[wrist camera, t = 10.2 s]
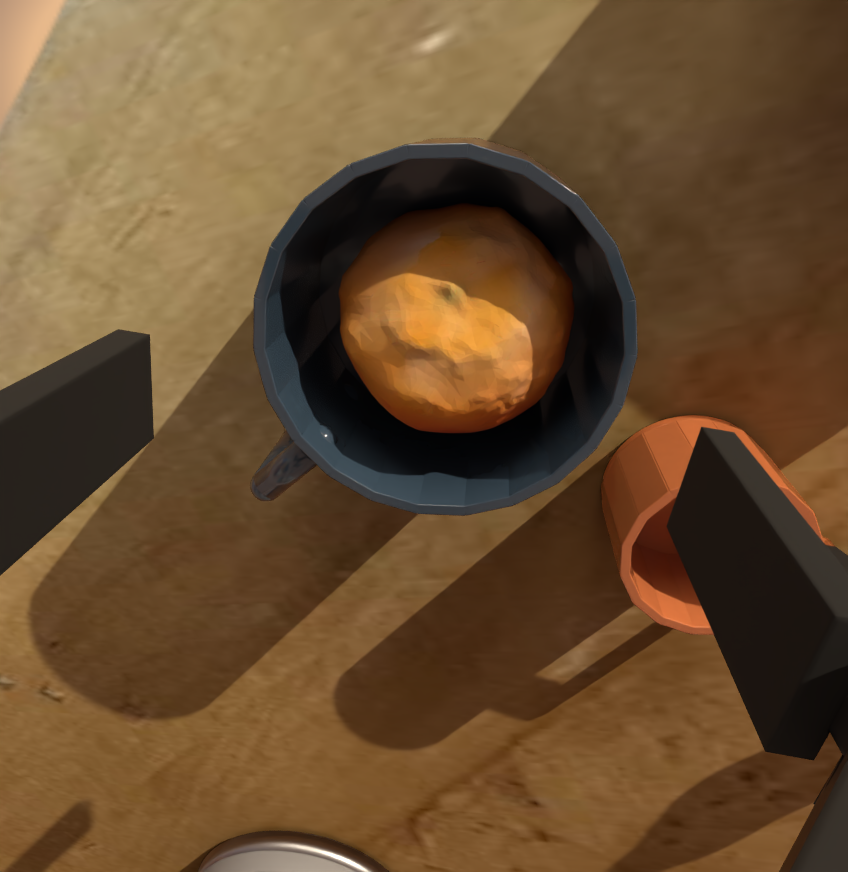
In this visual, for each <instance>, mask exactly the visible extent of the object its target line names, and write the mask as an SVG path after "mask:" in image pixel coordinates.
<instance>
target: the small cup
mask: <svg viewBox="0 0 848 872" xmlns="http://www.w3.org/2000/svg"><path fill="white" fill-rule="evenodd" d="M701 427H707V428H713V429H719V430H725V431H730V432H735V434H736V435H737V436H738V437H739V438H740V440H741V441H742V442H743V443H744V445H745V446H746V447H747V448H748V450H749V451H750V452H751V453H752V455H753V456H754V457H755V458H756V460H757V461H758V462H759V463H760V464H761V466H762V467H763V468H764V469H765V471H766V472H767V473H768V474H769V476H770V477H771V478H772V479H773V481H774V482H775V483H776V484H777V486H778V487H779V488H780V489H781V490H782V492H783V493H784V494H785V495H786V497H787V498H788V499H789V500H790V502H791V503H792V504H793V505H794V507H795V508H796V509H797V510H798V512H799V513H800V514H801V515H802V517H803V518H804V519H805V520H806V521H807V523H808V524H809V525H810V526H811V528H812V529H813V530H814V531H815V533H816V534H817V535H818V536H819V538H820V539H821V540H822V541H823V543H824V544H825V545H829V546H834V545H833V543H832V542H831V541H830V540H829V539H827V538H825V537H822V535H821V532H820V529H819V526H818V522H817V519H816V516H815V513H814V512H813V511H812V509H811V508H810V507H809V506H808V504H807V503H806V502H805V501H804V499H803V498H802V497H801V496H800V494H799V493H798V492H797V491H796V489H795V488H794V487H793V486H792V484H791V483H790V482H789V481H788V480H787V478H786V477H785V476H784V475H783V473H782V472H781V471H780V470H779V468H778V467H777V466H776V465H775V463H774V462H773V461H772V460H771V458H770V457H769V456H768V455H767V453H766V452H765V451H764V450H763V449H762V448H761V447H760V446H759V445H758V444H757V443H756V442H755V441H754V440H753V439H752V438H751V436H749V435H748V434H747V433H746V432H745V431H743V430H742V429H740V428H739V427H737V426H735V425H734V424H731V423H729V422H727V421H724V420H721V419H717V418H714V417H708V416H699V415H687V416H677V417H672V418H667V419H664V420H661V421H658V422H655V423H653V424H651V425H649V426H646V427H645V428H643V429H641V430H640V431H638V432H636V433H635V434H634V435H632V436H631V437H630V438H628V439H627V440H626V441H625V442H624V443H623V444H622V445H621V446H620V447H619V448H618V450H617V451H616V452H615V453H614V455H613V456H612V458H611V460H610V461H609V463H608V465H607V468H606V470H605V472H604V476H603V480H602V487H601V499H602V510H603V514H604V518H605V521H606V525H607V529H608V533H609V537H610V540H611V544H612V548H613V552H614V556H615V559H616V563H617V567H618V571H619V574H620V577H621V580H622V582H623V584H624V586H625V588H626V590H627V592H628V595H629V597H630V599H631V601H632V602H633V604H635V605H636V606H637V607H638V608H639V609H641V610H642V611H643V612H644V613H646V614H647V615H648V616H649V617H650V618H652V619H653V620H654V621H655V622H656V623H658V624H661V625H664V626H667V627H670V628H673V629H676V630H679V631H682V632H685V633H688V634H709V635H714V634H713V631H712V629H711V627H710V625H709V622H708V620H707V618H706V615H705V613H704V611H703V609H702V606H701V604H700V602H699V600H698V597H697V595H696V593H695V590H694V588H693V586H692V584H691V581H690V579H689V577H688V575H687V572H686V570H685V568H684V565H683V563H682V561H681V559H680V556H679V554H678V552H677V549H676V547H675V545H674V543H673V540H672V538H671V536H670V534H669V531H668V529H667V527H666V526H667V523H668V520H669V517H670V514H671V511H672V509H673V506H674V503H675V500H676V497H677V494H678V492H679V489H680V486H681V483H682V480H683V477H684V475H685V472H686V469H687V466H688V463H689V460H690V457H691V455H692V452H693V449H694V446H695V443H696V440H697V438H698V435H699V432H700V429H701Z"/></svg>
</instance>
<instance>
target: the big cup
mask: <svg viewBox="0 0 848 872" xmlns="http://www.w3.org/2000/svg"><path fill="white" fill-rule="evenodd" d="M460 203H469V204H475V205H480V206H487V207H500V208H502V209H504V210H506V211H507V213H509V214H510V215H511V216H512V217H514V218H515V219H516V220H518V221H519V222H520V223H521V224H523V225H524V226H525V227H526V228H528V229H529V230H530V231H531V232H532V233H533V234H534V235H535V236H536V237H538V238H539V239H540V240H541V241H542V243H543V244H544V245H545V247H546V248H547V249H548V250H549V252H550V253H551V254H552V255H553V257H554V258H555V259H556V261H557V262H558V263H559V264H560V265H561V267H562V268H563V270H564V271H565V272H566V274H567V275H568V277H569V278H570V279H571V281H572V285H573V292H572V297H573V301H574V317H573V322H572V326H571V330H570V336H569V341H568V344H567V348H566V351H565V357H564V362H563V364H562V366H561V368H560V369H559V371H558V372H557V373H556V375H555V377H554V379H553V381H552V382H551V383H550V385H549V387H548V388H547V390H546V393H545V394H544V396H543V397H542V398H541V399H540V400H539V401H538V402H537V403H536V404H534V405H533V406H531V407H530V408H529V409H527V410H526V411H524V412H522V413H521V414H519V415H518V416H516V417H515V418H513V419H511V420H509V421H507V422H504V423H502V424H500V425H498V426H496V427H494V428H490V429H487V430H483V431H478V432H472V433H439V432H429V431H421V430H417V429H415V428H413V427H410V426H408V425H406V424H405V423H403V422H402V421H400V420H398V419H397V418H396V417H394V416H393V415H391V414H390V413H389V412H388V411H387V410H386V409H385V408H384V407H383V406H382V405H381V404H380V403H379V402H378V401H377V400H376V399H375V398H374V396H373V395H372V394H371V393H370V391H369V390H368V388H367V387H366V385H365V384H364V383H363V381H362V379H361V378H360V376H359V375H358V373H357V371H356V370H355V368H354V366H353V364H352V362H351V360H350V358H349V356H348V354H347V352H346V350H345V348H344V345H343V342H342V337H341V333H340V324H341V320H340V298H339V289H340V285H341V280H342V276H343V275H344V273H345V272H346V271H347V269H348V268H349V267H350V265H351V264H352V262H353V261H354V260H355V258H356V257H357V255H358V254H359V252H360V251H361V249H362V248H363V246H364V244H365V243H366V241H367V240H368V239H369V238H370V237H371V236H373V235H374V234H375V233H377V232H378V231H379V230H381V229H382V228H383V227H385V226H386V225H387V224H388V223H390V222H391V221H393V220H394V219H396V218H398V217H400V216H401V215H403V214H405V213H407V212H410V211H416V210H425V209H438V208H443V207H447V206H451V205H455V204H460ZM253 348H254V353H255V357H256V361H257V364H258V368H259V371H260V375H261V378H262V382H263V386H264V389H265V393H266V396H267V398H268V401H269V403H270V404H271V406H272V408H273V409H274V411H275V413H276V414H277V416H278V418H279V419H280V421H281V423H282V424H283V426H284V428H285V429H286V430H285V432H284V433H283V435H282V436H281V438H280V439H279V440H278V442H277V443H276V445H275V446H274V448H273V449H272V450H271V452H270V453H269V455H268V456H267V458H266V459H265V460H264V462H263V463H262V465H261V466H260V468H259V469H258V470H257V472H256V473H255V475H254V476H253V478H252V480H251V483H250V489H251V492H252V494H253V495H254V496H255V497H256V498H257V499H259V500H261V501H272V500H274V499H276V498H277V497H278V496H280V495H281V494H282V493H283V492H285V491H286V490H287V489H288V488H289V487H291V486H292V485H293V484H294V483H296V482H297V481H298V480H299V479H300V478H302V477H303V476H304V475H305V474H307V473H308V472H309V471H310V470H311V469H313V468H314V467H315V466H316V465H318V466H319V467H320V468H321V469H322V470H323V471H324V472H325V473H326V474H327V475H329V477H331V478H333V479H334V480H336V481H338V482H340V483H341V484H343V485H345V486H347V487H348V488H350V489H352V490H353V491H355V492H357V493H359V494H360V495H362V496H364V497H366V498H367V499H369V500H370V499H371V501H375V502H378V503H382V504H385V505H388V506H392V507H395V508H399V509H402V510H406V511H409V512H413V513H418V514H435V515H461V516H465V515H471V514H476V513H481V512H486V511H490V510H495V509H500V508H505V507H509V506H513V505H516V504H518V503H520V502H522V501H524V500H526V499H528V498H530V497H532V496H534V495H536V494H538V493H540V492H542V491H544V490H546V489H548V488H550V487H552V486H554V485H556V484H557V483H559V482H560V481H561V480H562V479H564V478H565V477H566V476H567V475H568V474H569V473H570V472H571V471H572V470H574V469H575V468H576V467H577V466H578V465H579V464H580V463H581V462H583V461H584V460H585V459H586V458H587V457H588V456H589V455H590V454H592V453H593V452H594V451H595V449H597V447H598V445H599V444H600V442H601V441H602V439H603V437H604V436H605V434H606V433H607V431H608V430H609V428H610V426H611V425H612V423H613V422H614V420H615V418H616V417H617V415H618V414H619V412H620V411H621V409H622V407H623V405H624V402H625V398H626V395H627V391H628V388H629V384H630V380H631V377H632V373H633V370H634V366H635V363H636V359H637V353H638V347H637V314H636V299H635V295H634V292H633V289H632V286H631V283H630V280H629V278H628V275H627V272H626V269H625V266H624V263H623V261H622V258H621V255H620V252H619V249H618V246H617V245H616V243H615V241H614V240H613V239H612V237H611V236H610V235H609V233H608V232H607V231H606V230H605V228H604V227H603V226H602V224H601V223H600V222H599V220H598V219H597V218H596V216H595V215H594V214H593V213H592V211H591V210H590V209H589V207H588V206H587V205H586V203H585V202H584V201H583V199H582V198H581V197H580V196H579V195H578V194H577V193H576V192H575V191H573V190H572V189H571V188H570V187H569V186H568V185H567V184H566V183H565V182H564V181H563V180H561V179H560V178H559V177H558V176H557V175H555V174H554V173H552V172H551V171H549V170H548V169H547V168H545V167H544V166H542V165H541V164H539V163H538V162H536V161H535V160H534V159H532V158H531V157H529V156H528V155H526V154H525V153H524V152H521V151H519V150H516V149H513V148H509V147H507V146H503V145H500V144H496V143H493V142H490V141H486V140H483V139H480V138H436V139H427V140H423V141H419V142H414V143H410V144H405V145H402V146H399V147H396V148H393V149H391V150H388V151H385V152H382V153H379V154H376V155H373V156H370V157H367V158H365V159H362V160H359V161H356V162H353V163H351V164H349V165H347V166H346V167H344V168H343V169H342V170H340V171H339V172H338V173H336V174H335V175H334V176H332V177H331V178H330V179H328V180H327V181H326V182H324V183H323V184H322V185H321V186H319V187H318V188H317V189H315V190H314V191H313V192H311V193H310V194H309V195H307V196H306V197H305V198H304V199H303V200H302V201H301V202H300V203H299V205H298V206H297V208H296V209H295V211H294V212H293V213H292V215H291V216H290V218H289V219H288V220H287V222H286V223H285V225H284V226H283V228H282V229H281V230H280V232H279V233H278V235H277V236H276V238H275V239H274V240H273V242H272V243H271V246H270V247H269V250H268V254H267V257H266V260H265V263H264V266H263V269H262V273H261V276H260V279H259V282H258V285H257V289H256V292H255V295H254V333H253Z"/></svg>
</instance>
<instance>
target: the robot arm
mask: <svg viewBox="0 0 848 872" xmlns="http://www.w3.org/2000/svg"><path fill="white" fill-rule="evenodd" d="M152 439H154V433H153V407H152V381H151V355H150V335H149V334H143V333H137V332H131V331H125V330H119V329H118V330H116V331H114V332H112V333H110V334H108V335H107V336H105V337H103V338H101V339H99V340H97V341H95V342H93V343H91V344H89V345H87V346H85V347H83V348H82V349H80V350H78V351H76V352H74V353H72V354H70V355H68V356H66V357H64V358H62V359H60V360H58V361H56V362H55V363H53V364H51V365H49V366H47V367H45V368H43V369H41V370H39V371H37V372H35V373H33V374H31V375H30V376H28V377H26V378H24V379H22V380H20V381H18V382H16V383H14V384H12V385H10V386H8V387H6V388H5V389H3V390H1V391H0V575H1V574H3V573H4V572H5V571H6V570H7V569H8V568H9V567H10V566H12V565H13V564H14V563H15V562H16V561H17V560H18V559H19V558H20V557H22V556H23V555H24V554H25V553H26V552H27V551H28V550H29V549H31V548H32V547H33V546H34V545H35V544H36V543H37V542H38V541H40V540H41V539H42V538H43V537H44V536H45V535H46V534H47V533H48V532H50V531H51V530H52V529H53V528H54V527H55V526H56V525H57V524H59V523H60V522H61V521H62V520H63V519H64V518H65V517H66V516H67V515H69V514H70V513H71V512H72V511H73V510H74V509H75V508H76V507H78V506H79V505H80V504H81V503H82V502H83V501H84V500H85V499H86V498H88V497H89V496H90V495H91V494H92V493H93V492H94V491H95V490H97V489H98V488H99V487H100V486H101V485H102V484H103V483H104V482H106V481H107V480H108V479H109V478H110V477H111V476H112V475H113V474H114V473H116V472H117V471H118V470H119V469H120V468H121V467H122V466H123V465H125V464H126V463H127V462H128V461H129V460H130V459H131V458H132V457H133V456H135V455H136V454H137V453H138V452H139V451H140V450H141V449H142V448H144V447H145V446H146V445H147V444H148V443H149V442H150V441H151V440H152ZM666 527H667V529H668V531H669V534H670V536H671V538H672V540H673V543H674V545H675V547H676V549H677V552H678V554H679V556H680V559H681V561H682V563H683V565H684V568H685V570H686V572H687V575H688V577H689V579H690V581H691V584H692V586H693V588H694V590H695V593H696V595H697V597H698V600H699V602H700V604H701V606H702V609H703V611H704V613H705V615H706V618H707V620H708V622H709V625H710V627H711V629H712V631H713V634H714V636H715V638H716V640H717V643H718V645H719V647H720V650H721V652H722V654H723V656H724V659H725V661H726V663H727V665H728V668H729V670H730V672H731V675H732V677H733V679H734V681H735V684H736V686H737V688H738V690H739V693H740V695H741V697H742V700H743V702H744V704H745V706H746V709H747V711H748V713H749V715H750V718H751V720H752V722H753V725H754V727H755V729H756V731H757V734H758V736H759V738H760V740H761V743H762V745H763V747H764V750H765V752H770V753H776V754H782V755H787V756H793V757H798V758H804V759H809V760H814V759H815V757H816V756H817V754H818V752H819V750H820V749H821V747H822V745H823V743H824V742H825V740H826V738H827V736H828V735H829V733H831V735H832V737H833V738H834V740H835V742H836V744H837V746H838V747H839V749H840V751H841V753H842V754H843V755H842V756H841V758H840V760H839V761H838V763H837V765H836V766H835V768H834V770H833V772H832V773H831V775H830V777H829V778H828V780H827V782H826V783H825V785H824V787H823V788H822V790H821V792H820V794H819V795H818V797H817V799H816V800H815V802H814V807H813V809H812V811H811V813H810V815H809V817H808V818H807V820H806V822H805V824H804V826H803V828H802V830H801V832H800V833H799V835H798V837H797V839H796V841H795V843H794V845H793V846H792V848H791V850H790V852H789V854H788V856H787V858H786V860H785V861H784V863H783V865H782V867H781V869H780V871H779V872H848V555H846V554H845V553H843V552H842V551H841V550H839V549H838V548H837V547H835V546H829V545H825V544H824V543H823V541H822V540H821V539H820V538H819V536H818V535H817V534H816V533H815V531H814V530H813V529H812V528H811V526H810V525H809V524H808V523H807V521H806V520H805V519H804V518H803V517H802V515H801V514H800V513H799V512H798V510H797V509H796V508H795V507H794V505H793V504H792V503H791V502H790V500H789V499H788V498H787V497H786V495H785V494H784V493H783V492H782V490H781V489H780V488H779V487H778V486H777V484H776V483H775V482H774V481H773V479H772V478H771V477H770V476H769V474H768V473H767V472H766V471H765V469H764V468H763V467H762V466H761V464H760V463H759V462H758V461H757V460H756V458H755V457H754V456H753V455H752V453H751V452H750V451H749V450H748V448H747V447H746V446H745V445H744V443H743V442H742V441H741V440H740V438H739V437H738V436H737V435H736V434H735V432H730V431H725V430H719V429H713V428H707V427H701V429H700V432H699V435H698V438H697V440H696V443H695V446H694V449H693V452H692V455H691V457H690V460H689V463H688V466H687V469H686V472H685V475H684V477H683V480H682V483H681V486H680V489H679V492H678V494H677V497H676V500H675V503H674V506H673V509H672V511H671V514H670V517H669V520H668V523H667V526H666ZM198 872H389V871H388V870H387V869H385V868H384V867H383V866H382V865H381V864H379V863H378V862H376V861H375V860H374V859H372V858H370V857H369V856H367V855H366V854H364V853H362V852H360V851H358V850H356V849H354V848H352V847H350V846H348V845H345V844H343V843H340V842H338V841H335V840H332V839H328V838H325V837H321V836H317V835H313V834H307V833H301V832H292V831H262V832H255V833H249V834H245V835H241V836H237V837H235V838H232V839H229V840H227V841H225V842H223V843H221V844H220V845H218V846H217V847H215V848H214V849H213V850H212V851H210V852H209V854H208V855H207V856H206V857H205V858H204V860H203V861H202V863H201V866H200V868H199V870H198Z"/></svg>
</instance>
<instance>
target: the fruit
mask: <svg viewBox="0 0 848 872" xmlns="http://www.w3.org/2000/svg"><path fill="white" fill-rule="evenodd" d="M572 292H573V285H572V281H571V279H570V278H569V277H568V275H567V274H566V272H565V271H564V270H563V268H562V267H561V265H560V264H559V263H558V262H557V261H556V259H555V258H554V257H553V255H552V254H551V253H550V252H549V250H548V249H547V248H546V247H545V245H544V244H543V243H542V241H541V240H540V239H539V238H538V237H536V236H535V235H534V234H533V233H532V232H531V231H530V230H529V229H528V228H526V227H525V226H524V225H523V224H521V223H520V222H519V221H518V220H516V219H515V218H514V217H512V216H511V215H510V214H509V213H507V211H506V210H504V209H502V208H500V207H487V206H480V205H475V204H469V203H460V204H455V205H451V206H447V207H443V208H438V209H425V210H416V211H410V212H407V213H405V214H403V215H401V216H400V217H398V218H396V219H394V220H393V221H391V222H390V223H388V224H387V225H386V226H385V227H383V228H382V229H381V230H379V231H378V232H377V233H375V234H374V235H373V236H371V237H370V238H369V239H368V240H367V241H366V243H365V244H364V246H363V248H362V249H361V251H360V252H359V254H358V255H357V257H356V258H355V260H354V261H353V262H352V264H351V265H350V267H349V268H348V269H347V271H346V272H345V273H344V275H343V276H342V280H341V285H340V289H339V298H340V320H341V324H340V333H341V337H342V342H343V345H344V348H345V350H346V352H347V354H348V356H349V358H350V360H351V362H352V364H353V366H354V368H355V370H356V371H357V373H358V375H359V376H360V378H361V379H362V381H363V383H364V384H365V385H366V387H367V388H368V390H369V391H370V393H371V394H372V395H373V396H374V398H375V399H376V400H377V401H378V402H379V403H380V404H381V405H382V406H383V407H384V408H385V409H386V410H387V411H388V412H389V413H390V414H391V415H393V416H394V417H396V418H397V419H398V420H400V421H402V422H403V423H405V424H406V425H408V426H410V427H413V428H415V429H417V430H421V431H429V432H439V433H472V432H478V431H483V430H487V429H490V428H494V427H496V426H498V425H500V424H502V423H504V422H507V421H509V420H511V419H513V418H515V417H516V416H518V415H519V414H521V413H522V412H524V411H526V410H527V409H529V408H530V407H531V406H533V405H534V404H536V403H537V402H538V401H539V400H540V399H541V398H542V397H543V396H544V394H545V393H546V390H547V388H548V387H549V385H550V383H551V382H552V381H553V379H554V377H555V375H556V373H557V372H558V371H559V369H560V368H561V366H562V364H563V362H564V357H565V351H566V348H567V344H568V341H569V336H570V330H571V326H572V322H573V317H574V301H573V297H572Z"/></svg>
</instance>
